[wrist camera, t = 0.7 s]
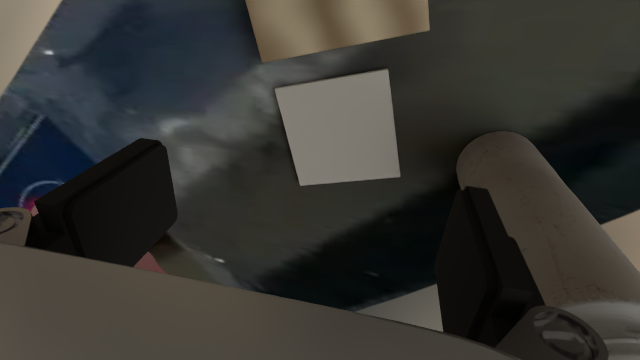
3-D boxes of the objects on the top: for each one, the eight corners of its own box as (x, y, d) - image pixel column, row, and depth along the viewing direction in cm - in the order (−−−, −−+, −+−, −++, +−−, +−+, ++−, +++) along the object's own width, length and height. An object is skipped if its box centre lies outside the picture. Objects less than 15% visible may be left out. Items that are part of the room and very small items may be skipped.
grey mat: (388, 68, 35) (387, 69, 34) (400, 174, 40) (400, 176, 39) (276, 87, 38) (274, 88, 37) (301, 183, 43) (300, 185, 43)
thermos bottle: (505, 208, 39) (670, 555, 15) (441, 179, 39) (508, 485, 15) (555, 150, 35) (886, 502, 11) (484, 118, 35) (667, 406, 11)
